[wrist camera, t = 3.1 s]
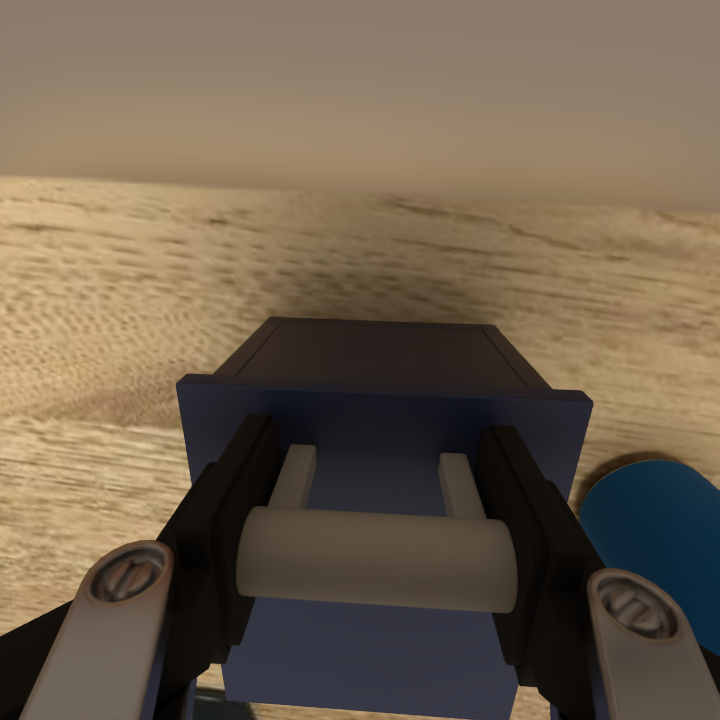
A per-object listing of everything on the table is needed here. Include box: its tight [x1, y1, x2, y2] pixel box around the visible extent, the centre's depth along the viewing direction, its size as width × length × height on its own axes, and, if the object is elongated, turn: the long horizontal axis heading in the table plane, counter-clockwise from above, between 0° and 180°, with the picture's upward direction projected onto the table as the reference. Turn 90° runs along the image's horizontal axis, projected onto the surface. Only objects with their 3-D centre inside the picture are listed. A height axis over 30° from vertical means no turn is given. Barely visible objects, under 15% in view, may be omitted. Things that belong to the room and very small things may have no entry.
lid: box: [176, 374, 593, 720], centre depth 11 cm, size 13×11×5 cm
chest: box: [212, 317, 552, 389], centre depth 17 cm, size 13×11×8 cm
